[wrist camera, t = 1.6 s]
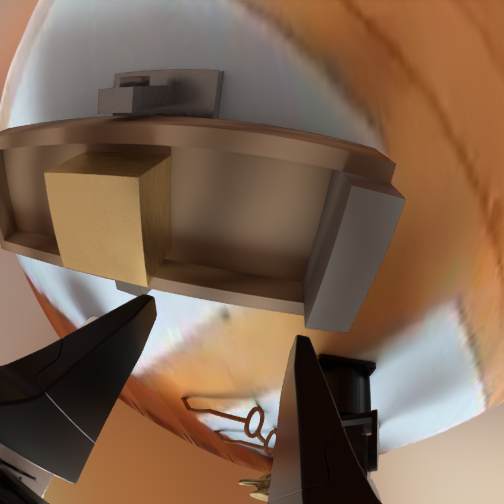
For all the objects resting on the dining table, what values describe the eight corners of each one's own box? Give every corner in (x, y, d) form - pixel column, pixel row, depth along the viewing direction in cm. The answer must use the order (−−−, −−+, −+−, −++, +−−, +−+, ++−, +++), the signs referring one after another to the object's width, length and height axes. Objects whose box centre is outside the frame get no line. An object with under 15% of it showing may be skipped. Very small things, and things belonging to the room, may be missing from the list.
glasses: (282, 434, 40) (277, 459, 36) (215, 430, 45) (208, 451, 41) (257, 399, 34) (249, 430, 30) (180, 395, 39) (169, 420, 35)
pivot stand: (223, 71, 15) (184, 63, 10) (206, 273, 24) (179, 320, 19) (122, 73, 16) (67, 77, 11) (128, 252, 25) (92, 289, 20)
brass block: (171, 155, 14) (138, 177, 11) (171, 247, 17) (147, 286, 14) (86, 151, 14) (44, 172, 11) (95, 234, 18) (63, 266, 14)
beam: (374, 148, 14) (412, 177, 10) (331, 284, 20) (341, 344, 15) (8, 128, 15) (-39, 149, 10) (24, 229, 20) (-12, 261, 15)
